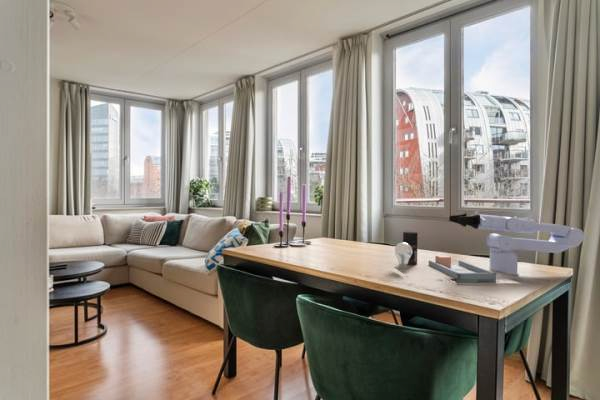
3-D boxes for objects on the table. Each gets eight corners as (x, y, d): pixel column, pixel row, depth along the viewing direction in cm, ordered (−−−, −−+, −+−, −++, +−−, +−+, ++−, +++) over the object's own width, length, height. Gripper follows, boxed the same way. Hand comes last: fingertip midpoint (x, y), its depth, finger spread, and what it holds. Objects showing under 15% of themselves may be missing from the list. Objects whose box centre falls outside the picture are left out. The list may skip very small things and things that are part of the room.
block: (445, 266, 157) (446, 255, 157) (450, 268, 153) (451, 257, 153) (435, 266, 157) (435, 255, 157) (440, 268, 153) (440, 257, 153)
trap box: (460, 268, 161) (460, 260, 161) (496, 283, 135) (496, 273, 135) (428, 268, 160) (428, 260, 160) (457, 283, 134) (458, 273, 134)
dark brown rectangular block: (414, 269, 158) (415, 233, 158) (400, 267, 161) (401, 232, 161) (418, 266, 163) (419, 232, 163) (405, 265, 166) (405, 231, 166)
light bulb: (393, 272, 151) (393, 242, 151) (395, 269, 158) (395, 240, 157) (411, 274, 149) (411, 243, 148) (412, 270, 155) (413, 241, 155)
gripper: (478, 211, 158) (447, 208, 157) (498, 213, 143) (464, 209, 142) (476, 227, 158) (445, 225, 157) (496, 231, 143) (462, 228, 143)
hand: (454, 219), depth 150 cm, fingers open, 7 cm apart
